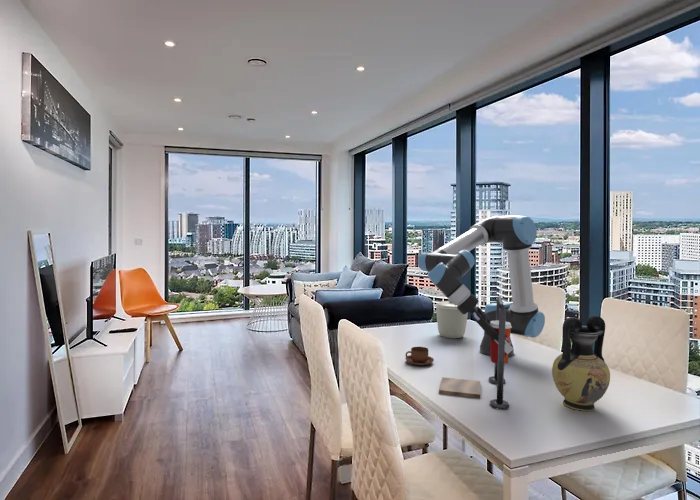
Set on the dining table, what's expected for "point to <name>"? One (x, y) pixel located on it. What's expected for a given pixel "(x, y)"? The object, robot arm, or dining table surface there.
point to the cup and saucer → (419, 356)
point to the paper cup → (495, 346)
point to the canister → (450, 320)
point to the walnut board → (460, 387)
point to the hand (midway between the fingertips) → (509, 348)
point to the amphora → (582, 364)
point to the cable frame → (500, 359)
